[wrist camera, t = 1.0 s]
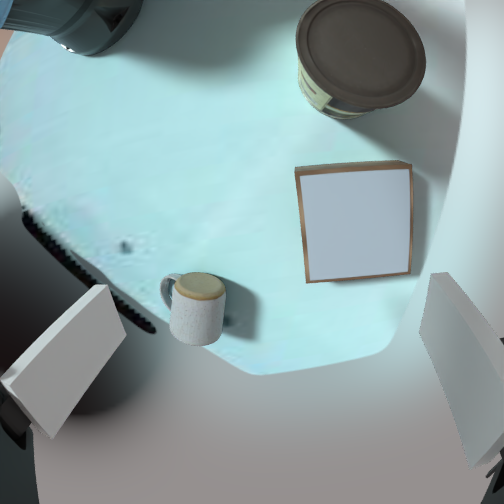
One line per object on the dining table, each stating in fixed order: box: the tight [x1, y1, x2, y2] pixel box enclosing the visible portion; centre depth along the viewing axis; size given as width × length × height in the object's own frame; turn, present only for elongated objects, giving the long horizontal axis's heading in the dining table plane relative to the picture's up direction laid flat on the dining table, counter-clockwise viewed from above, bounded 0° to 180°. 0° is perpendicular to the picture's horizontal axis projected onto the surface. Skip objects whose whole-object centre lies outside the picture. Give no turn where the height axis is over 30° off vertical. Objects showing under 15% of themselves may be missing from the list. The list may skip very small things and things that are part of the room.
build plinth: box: [295, 160, 413, 283], centre depth 33 cm, size 13×13×5 cm
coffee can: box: [296, 0, 426, 119], centre depth 23 cm, size 10×10×14 cm
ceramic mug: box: [160, 272, 226, 346], centre depth 40 cm, size 11×8×8 cm
